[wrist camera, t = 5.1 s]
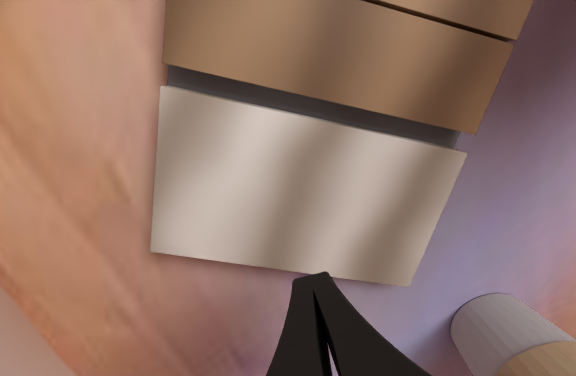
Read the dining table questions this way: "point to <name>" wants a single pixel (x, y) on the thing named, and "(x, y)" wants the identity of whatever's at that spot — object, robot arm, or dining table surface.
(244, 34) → the walnut boards
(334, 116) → the underlay mat
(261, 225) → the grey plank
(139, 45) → the dining table surface
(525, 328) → the coffee cup
